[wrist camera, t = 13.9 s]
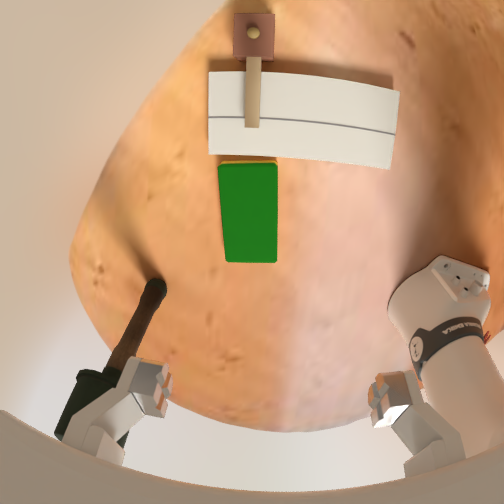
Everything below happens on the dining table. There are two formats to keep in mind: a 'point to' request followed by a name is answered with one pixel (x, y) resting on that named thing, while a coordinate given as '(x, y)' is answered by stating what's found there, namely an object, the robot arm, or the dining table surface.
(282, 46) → the dining table surface
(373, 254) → the dining table surface
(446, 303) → the robot arm
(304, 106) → the board
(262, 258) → the dish sponge
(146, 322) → the potato masher grenade
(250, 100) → the block
